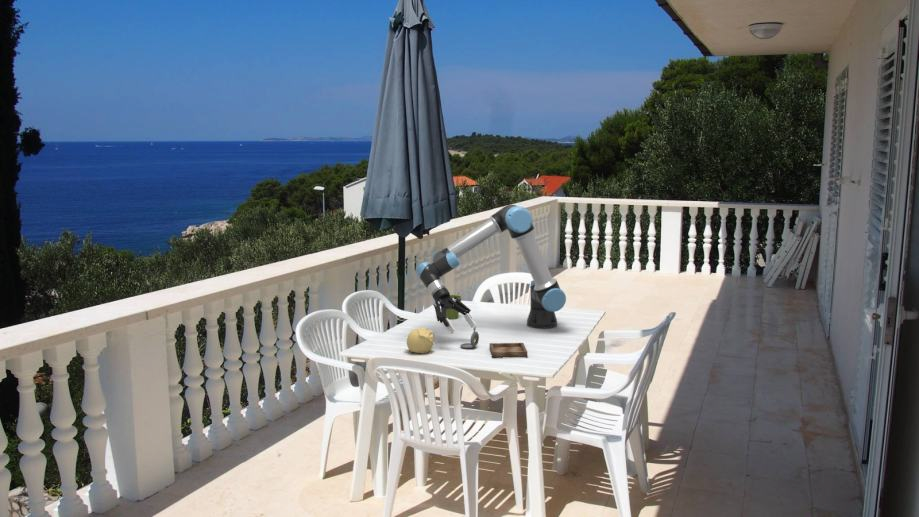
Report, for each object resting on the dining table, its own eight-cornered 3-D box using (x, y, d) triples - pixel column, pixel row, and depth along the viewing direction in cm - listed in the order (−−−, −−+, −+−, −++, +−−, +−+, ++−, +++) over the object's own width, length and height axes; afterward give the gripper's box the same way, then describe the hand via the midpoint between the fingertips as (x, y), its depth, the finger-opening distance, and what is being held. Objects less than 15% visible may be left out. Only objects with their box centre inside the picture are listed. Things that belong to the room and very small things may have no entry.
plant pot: (466, 316, 398) (466, 295, 396) (454, 321, 388) (454, 299, 386) (448, 314, 404) (447, 293, 403) (435, 318, 394) (435, 297, 393)
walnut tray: (523, 348, 335) (523, 342, 335) (527, 357, 320) (527, 351, 320) (489, 348, 335) (489, 343, 334) (492, 358, 320) (492, 352, 320)
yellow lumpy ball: (431, 355, 325) (430, 331, 323) (404, 354, 327) (403, 330, 325) (436, 348, 336) (436, 325, 334) (410, 347, 338) (409, 324, 336)
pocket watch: (459, 345, 341) (459, 324, 339) (478, 345, 341) (478, 323, 340) (461, 350, 333) (461, 328, 331) (480, 349, 333) (480, 327, 332)
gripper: (453, 292, 356) (477, 328, 349) (415, 300, 338) (439, 339, 330) (461, 283, 352) (486, 319, 344) (423, 290, 334) (448, 329, 326)
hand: (463, 329), depth 337 cm, fingers open, 13 cm apart
